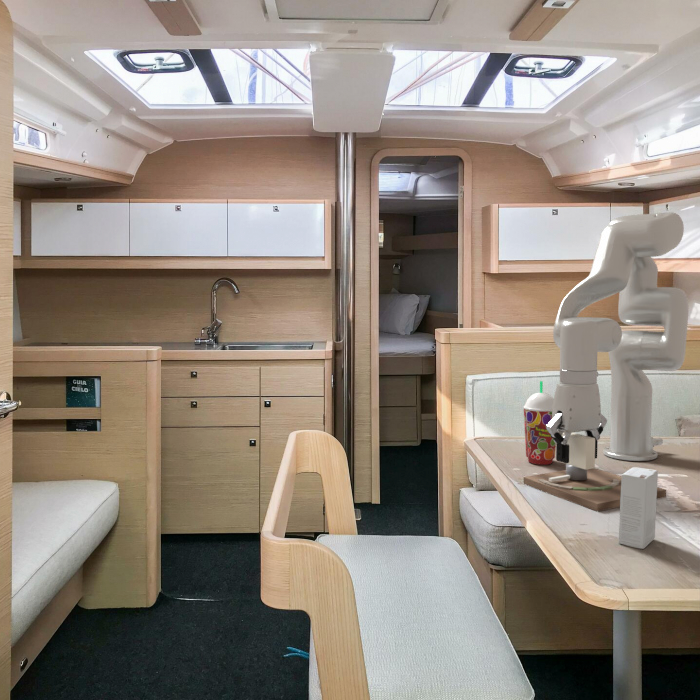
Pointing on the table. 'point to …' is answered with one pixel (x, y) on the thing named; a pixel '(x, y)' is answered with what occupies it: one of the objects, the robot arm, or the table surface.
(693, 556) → the table surface
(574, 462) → the pointer knob
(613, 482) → the tuner board
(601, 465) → the table surface
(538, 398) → the smoothie
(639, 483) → the skincare box
